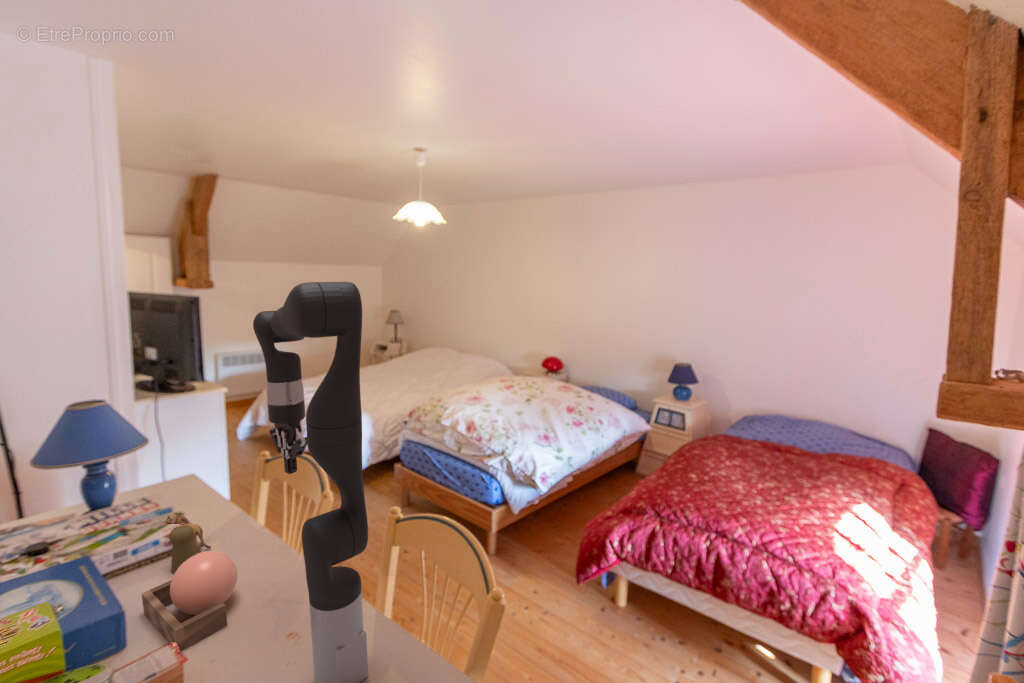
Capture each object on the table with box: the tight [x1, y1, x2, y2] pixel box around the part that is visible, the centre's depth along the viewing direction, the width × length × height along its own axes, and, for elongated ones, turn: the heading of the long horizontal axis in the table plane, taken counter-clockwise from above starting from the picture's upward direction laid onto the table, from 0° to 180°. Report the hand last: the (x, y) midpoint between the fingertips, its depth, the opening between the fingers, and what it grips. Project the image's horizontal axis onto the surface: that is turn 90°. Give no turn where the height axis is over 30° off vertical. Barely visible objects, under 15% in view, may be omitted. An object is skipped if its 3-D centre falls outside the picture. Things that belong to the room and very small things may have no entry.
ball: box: [170, 550, 238, 616], centre depth 110 cm, size 13×13×13 cm
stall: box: [141, 579, 228, 652], centre depth 107 cm, size 19×10×5 cm, turn 54°
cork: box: [168, 525, 197, 575], centre depth 125 cm, size 6×6×11 cm
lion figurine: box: [161, 512, 212, 554], centre depth 135 cm, size 15×5×9 cm, turn 75°
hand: (291, 472), depth 111 cm, fingers closed
